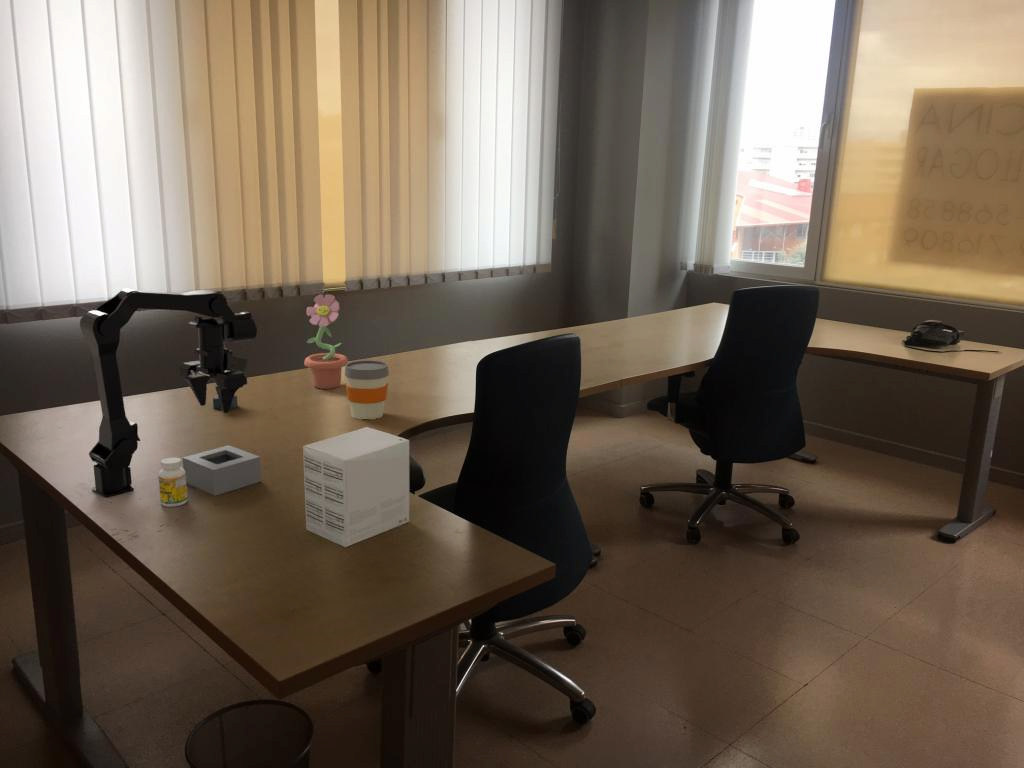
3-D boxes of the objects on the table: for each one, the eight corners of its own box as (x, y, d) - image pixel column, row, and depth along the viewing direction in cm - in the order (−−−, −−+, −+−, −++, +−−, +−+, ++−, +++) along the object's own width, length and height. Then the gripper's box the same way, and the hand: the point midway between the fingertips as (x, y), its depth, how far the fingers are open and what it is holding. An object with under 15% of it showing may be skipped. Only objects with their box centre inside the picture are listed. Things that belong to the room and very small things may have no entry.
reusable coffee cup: (393, 410, 260) (393, 361, 257) (383, 422, 248) (382, 371, 244) (352, 408, 261) (351, 359, 258) (340, 420, 249) (338, 368, 246)
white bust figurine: (239, 403, 262) (238, 368, 260) (229, 411, 255) (227, 374, 252) (221, 403, 263) (219, 367, 260) (210, 410, 255) (208, 373, 252)
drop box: (215, 495, 192) (213, 470, 191) (184, 482, 199) (182, 457, 198) (260, 481, 201) (259, 456, 200) (229, 469, 208) (228, 445, 207)
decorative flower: (293, 389, 281) (290, 296, 273) (315, 379, 293) (313, 290, 286) (335, 393, 277) (333, 299, 269) (355, 383, 289) (354, 293, 282)
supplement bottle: (192, 501, 189) (190, 459, 186) (172, 509, 184) (169, 466, 182) (175, 496, 191) (172, 454, 189) (155, 504, 187) (151, 461, 184)
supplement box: (368, 505, 189) (367, 425, 185) (411, 522, 181) (411, 439, 177) (303, 529, 176) (300, 444, 172) (346, 549, 168) (344, 460, 164)
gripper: (265, 346, 205) (267, 410, 209) (218, 334, 216) (220, 396, 219) (224, 352, 196) (226, 419, 200) (177, 340, 207) (180, 404, 211)
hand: (214, 409), depth 208 cm, fingers open, 9 cm apart
